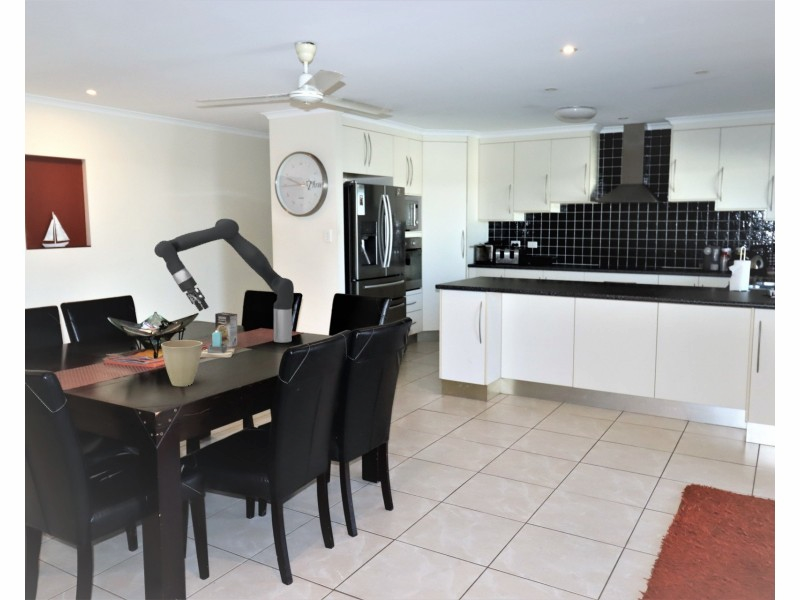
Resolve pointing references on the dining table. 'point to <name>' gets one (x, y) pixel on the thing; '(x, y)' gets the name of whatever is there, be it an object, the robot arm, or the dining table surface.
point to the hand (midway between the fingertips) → (204, 309)
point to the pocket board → (218, 351)
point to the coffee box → (227, 327)
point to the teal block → (217, 339)
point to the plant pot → (182, 360)
